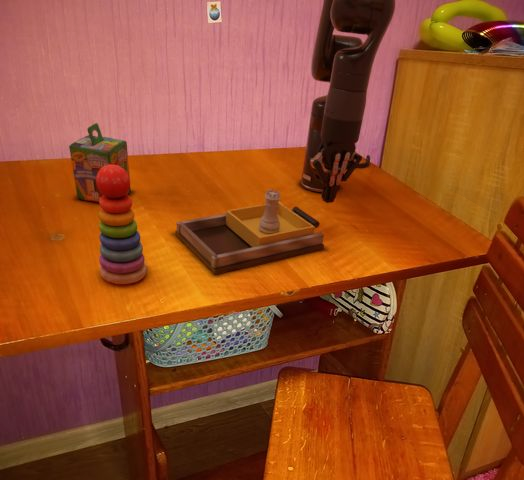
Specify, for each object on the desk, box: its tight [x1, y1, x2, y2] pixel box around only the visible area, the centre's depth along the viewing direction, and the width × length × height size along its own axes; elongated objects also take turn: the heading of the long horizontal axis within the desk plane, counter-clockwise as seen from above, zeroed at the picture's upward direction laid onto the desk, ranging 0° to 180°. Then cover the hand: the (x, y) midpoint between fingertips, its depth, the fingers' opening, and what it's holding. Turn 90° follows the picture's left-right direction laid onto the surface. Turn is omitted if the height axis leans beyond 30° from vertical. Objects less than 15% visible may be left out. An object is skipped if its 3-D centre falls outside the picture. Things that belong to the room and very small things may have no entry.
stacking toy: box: [96, 165, 148, 285], centre depth 80 cm, size 8×8×19 cm
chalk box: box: [68, 122, 132, 203], centre depth 106 cm, size 9×9×15 cm
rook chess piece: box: [259, 188, 282, 234], centre depth 97 cm, size 4×4×8 cm
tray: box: [225, 201, 321, 247], centre depth 100 cm, size 16×13×3 cm
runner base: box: [175, 213, 325, 275], centre depth 98 cm, size 25×17×3 cm
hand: (327, 201), depth 104 cm, fingers closed
